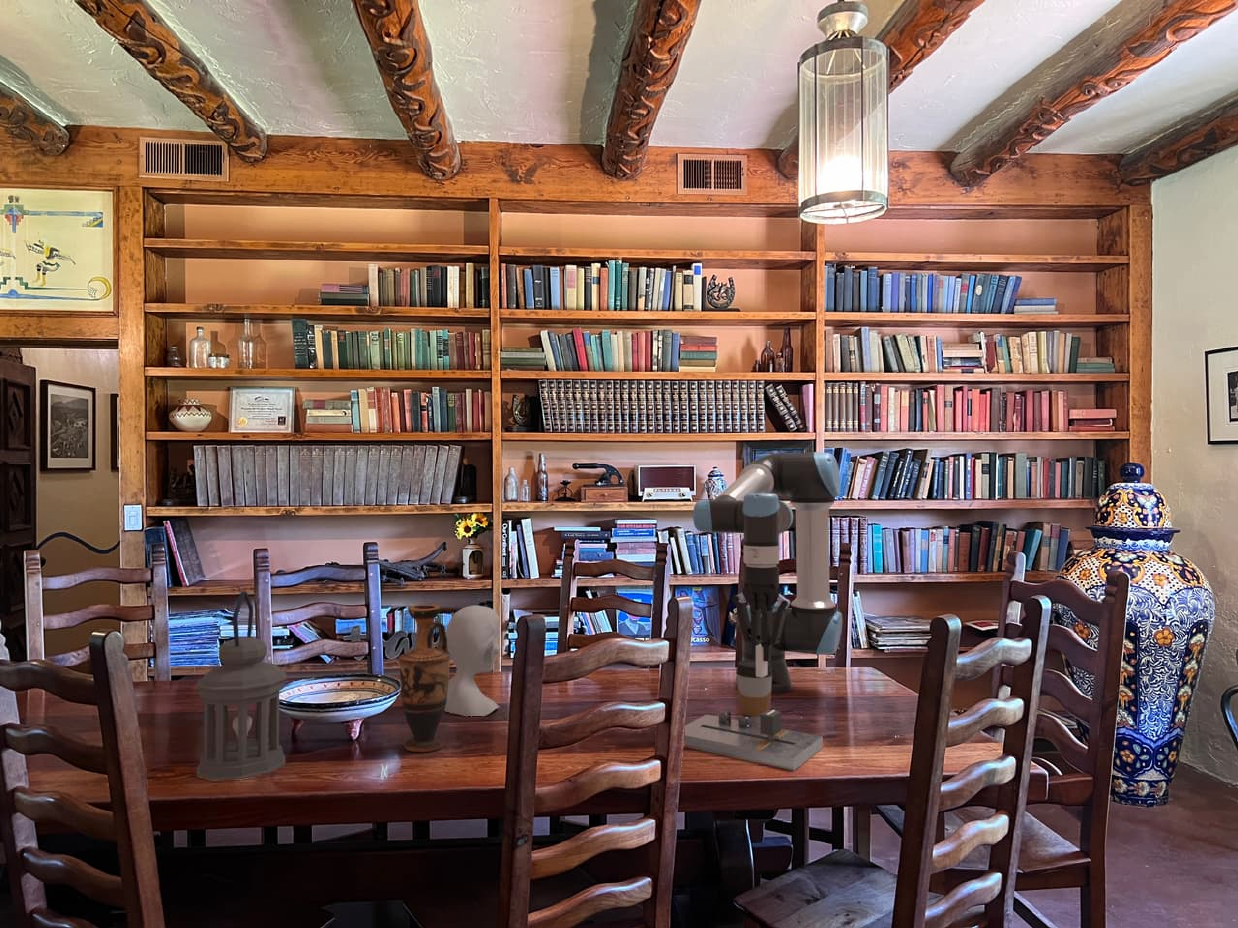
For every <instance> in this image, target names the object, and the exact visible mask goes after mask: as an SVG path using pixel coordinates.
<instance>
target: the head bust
mask: <svg viewBox="0 0 1238 928" xmlns="http://www.w3.org/2000/svg"><path fill="white" fill-rule="evenodd" d="M445 632H446V637H447V648H448V651H449V653H450V655H451V656H450V660H451V661H453V663H454V664H455V667H456V671H455V674H454V676H453V677H451V678H449V682H448V694H447V701H446V706H445V710H444V711H445V712H444V713H446V712H449V713H448V714H454V715H459V716H464V717H468V716H471V717H470V718H473V717H472V716H482V717H485V716H488V715H490V714H491V713H493V712H494V711H495V710H496V709H499V708H500V706H499V705H498V704H497V702H496V701H494V700H493V699H491V698H489V697H488V696H485V695H484V694H483V693H482V692H481V690H480V689H479V687H478V686H477V684H476V682H475V678H474V677H475V675H476V674H478V673H490V672H492V670H493V669H494V663H495V661H496V658H497V655H498V654H499V653H500V651H501V648H500V645H499V644H498V642H499V638H500V617H499V615H498V614H497V613H496V611H495V610H494V609H493V608H491V607H488V606H482V605H470V606H466V607H463V608H461V609H459V610H457V611H456V612H455V613H454V614H453V615H452V616H451V618H450V620H449V622H448V625H447V628H446V631H445Z"/></svg>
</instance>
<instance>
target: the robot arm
mask: <svg viewBox="0 0 1238 928" xmlns="http://www.w3.org/2000/svg"><path fill="white" fill-rule="evenodd" d="M839 468H840V467H839V464H838V462H837V459H836V458H835V456H834V454H832V453H829V452H817V451H814V452H775V453H771V454H768V455H764V456H762V457H760V458H757V459H755V460H753V461H752V462H750V463H748V464H747V465H746V466H744V468H742V470H741V472H739V476H738V478H737V479H736V480H735V481H733V482H732V483H731V484H730V485H729V486H728V487H727V488H725V489H724V490H723V491H722V492H721V493H719V495H718V496H716V497H715V498H714V499H708V498H707V499H701V500H700V499H699V500H698V501H696V502H695V504H694V507H693V512H692V519H693V525H694V527H695V529H696V530H697V531H698V532H702V533H710V534H713V533H714V534H715V533H716V534H717V533H721V534H743V535H742V536H743V563H744V564H745V565H744V567H743V587H742V588H741V592H740V593H739V594H736V595H733V596H732V599H731V600H732V601H733V603H734V605H735V607H736V611H737V616H738V620H739V625H740V630H741V636H742V638H741V641H742V643H741V644H742V648H741V649H742V655H741V656H742V657H741V661H744V660H756V677H764V676H766V675H768V663H770V666H771V668H772V673H773V675H772V681H771V695H777V694H783V693H788V692H790V691H791V690H792V686H793V684H792V678H791V674H790V672H789V668H788V665H787V661H786V652H787V653H797V654H799V653H800V654H809V655H815V656H820V655H821V656H832V655H834V654H835V652H836V651H837V650H838V647H839V644H840V641H841V636H842V630H843V613H842V612H840V611H838V610H836V609H837V607H836V603H835V602H834V601H833V600H832V599H831V598H830V596H831V594H830V531H829V530H830V527H829V526H830V522H829V519H830V518H829V517H830V516H829V514H830V513H829V512H830V511H829V509H830V508H831V507H832V506H833V505H834V503H835V498H837V497H838V496H840V495H841V489H842V488H841V486H842V481H841V474H840V469H839ZM779 496H782V497H784V496H785V497H786V496H787V497H788V496H789V504H791V506H793V507H794V510H795V539H796V541H795V547H796V548H795V549H796V555H795V557H796V559H795V560H796V561H795V562H796V598H795V599H794V600H791V599H789V598H788V599H787V598H786V597H785V596H784V595H782V591H781V589H780V587H779V586H780V568H779V567H778V566H777V565H778V564H779V563H780V542H779V541H780V538H779V537H780V535H781V534H783V533H784V532H786V531H787V530H788V529H789V528H790V527H791V526H792V524H793V522H794V512H793V510H792V507H791V506H790V505H789V504H788V503H786V502H785V501H781V500H779ZM746 603H748V605H747V604H746ZM790 606H791V607H790ZM735 687H736V688H737V689H738V679H737V676H736V677H735Z"/></svg>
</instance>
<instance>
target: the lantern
mask: <svg viewBox="0 0 1238 928" xmlns="http://www.w3.org/2000/svg"><path fill="white" fill-rule="evenodd" d="M243 600H244V601H245V602H246V606H247V608H248V618H247V619H248V622H247V633H246V634H247V635H246V636H245V637H240V636H239V621H238V618H239V613H240V611H241V610H240V609H241V607H242V603H243ZM253 617H254V606H253V604H252V601H251V599H250V597H249V595H248V592H247V591H245V590H243V591H241V592H240V593H239V596H238V600H237V603H236V605H235V608H234V611H233V615H232V624H233V625H232V626H233V627H232V628H233V638H234V639H230V640H228V641H225V642H223V643H222V644H221V646H220V647H219V649H218V659H219V661H220V662H221V663H222V664H223V665H220V666H218V667H214V668H212V669H211V670H209V671H207V672H205V673H204V675H203V677H202V678H198V679H197V682H196V683H197V684H196V688H197V689H199V697H200V698H202V699H204V719H203V720H204V726H203V727H204V729H203V731H204V734H203V735H204V738H203V740H204V741H203V742H204V743H203V745H204V746H203V754H202V755H200V759H199V764H198V766H197V767H196V768H197V769H196V775H197V776H201V777H204V778H208V779H211V780H234V779H235V780H236V779H245V778H250V777H254V776H258V775H262V774H266V773H270V772H272V771H274V770H275V769H277V768H279V767H280V768H282V767H283V766H285V765H286V764H287V763H286V755H285V753H284V752H283V745H281V744H280V691H281V690H283V689H285V680H287V679H288V677H287V672H286V671H285V670H281V668H280V666H278V665H276V664H274V663H271V662H264V661H263V660H265V658H266V656H267V654H268V650H267V649H268V645H267V643H266V642H265V641H264V640H263V639H261V638H255V637H252V632H253V631H252V630H253V621H254V620H253ZM250 704H256V709H257V710H256V738H249V739H248V736H249V735H248V733H249V731H250V729H252V728H251V727H252V724H253V719H252V717H251V716H250V715H248V705H250ZM230 706H238V707H237V711H238V712H237V716H235V718H234V719H233V721H232V728H233V730H234V732H235V734H236V738H237V740H234V741H230V742H229V741H228V712H229V711H228V709H229V708H228V707H230ZM280 768H279V769H280ZM277 770H278V769H277ZM275 771H276V770H275ZM275 771H274V772H275ZM272 773H273V772H272ZM270 774H271V773H270ZM262 776H263V775H262ZM258 777H259V776H258ZM254 778H255V777H254ZM250 779H251V778H250Z"/></svg>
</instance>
